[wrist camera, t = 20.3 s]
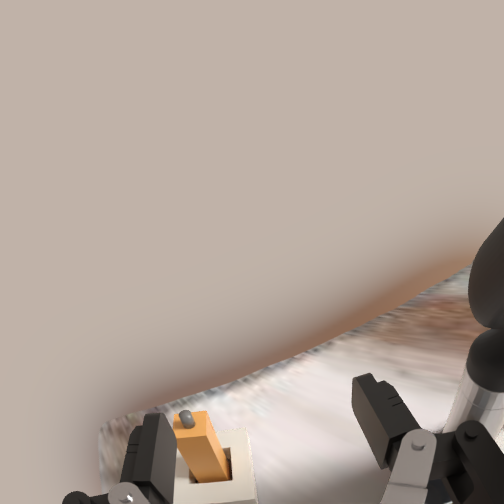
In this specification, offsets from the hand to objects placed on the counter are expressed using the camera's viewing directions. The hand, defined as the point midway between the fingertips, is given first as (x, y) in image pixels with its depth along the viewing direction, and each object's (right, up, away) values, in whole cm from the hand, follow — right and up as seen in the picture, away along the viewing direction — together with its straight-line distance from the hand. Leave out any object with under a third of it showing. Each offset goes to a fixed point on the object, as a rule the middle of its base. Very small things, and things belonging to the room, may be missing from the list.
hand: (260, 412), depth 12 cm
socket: (-6, -28, +27) cm, 40 cm away
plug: (-6, -28, +27) cm, 40 cm away
